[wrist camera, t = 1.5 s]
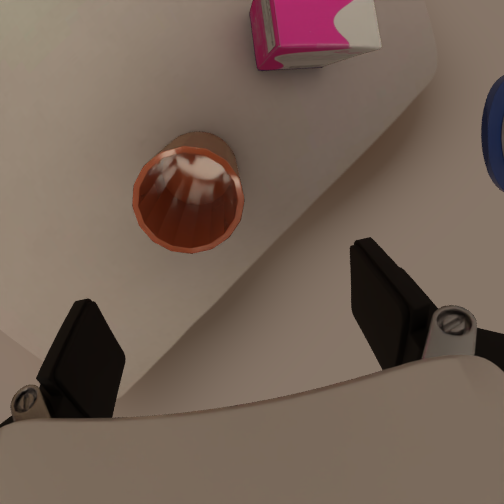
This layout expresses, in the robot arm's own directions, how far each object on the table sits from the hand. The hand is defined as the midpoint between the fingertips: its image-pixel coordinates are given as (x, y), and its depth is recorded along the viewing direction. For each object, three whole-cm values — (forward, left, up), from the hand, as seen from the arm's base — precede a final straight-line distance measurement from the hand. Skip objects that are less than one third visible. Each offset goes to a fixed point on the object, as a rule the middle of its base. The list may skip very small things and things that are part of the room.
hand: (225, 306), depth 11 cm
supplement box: (-8, -11, -19) cm, 23 cm away
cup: (+2, -1, -19) cm, 19 cm away
